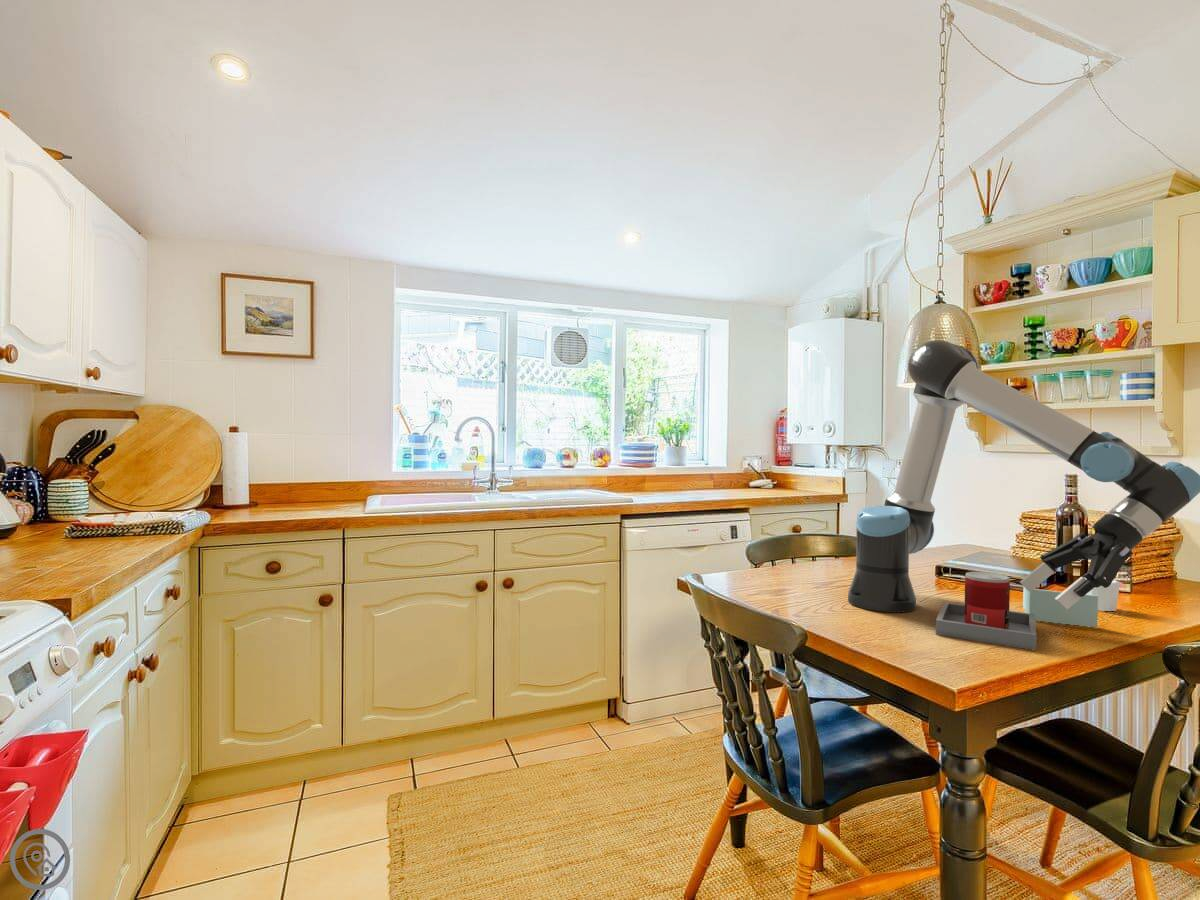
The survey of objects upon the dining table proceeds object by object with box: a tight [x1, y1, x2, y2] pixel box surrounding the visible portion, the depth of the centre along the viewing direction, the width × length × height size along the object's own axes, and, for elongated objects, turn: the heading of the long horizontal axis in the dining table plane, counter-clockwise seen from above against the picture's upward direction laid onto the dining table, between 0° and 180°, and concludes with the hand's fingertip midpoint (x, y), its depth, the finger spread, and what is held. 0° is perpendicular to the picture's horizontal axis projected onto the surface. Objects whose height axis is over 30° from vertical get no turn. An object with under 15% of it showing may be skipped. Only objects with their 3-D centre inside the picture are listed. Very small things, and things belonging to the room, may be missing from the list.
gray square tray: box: [935, 601, 1037, 651], centre depth 131 cm, size 17×17×3 cm
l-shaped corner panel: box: [1022, 585, 1099, 628], centre depth 141 cm, size 12×12×8 cm
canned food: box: [964, 571, 1011, 629], centre depth 131 cm, size 8×8×11 cm
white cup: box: [1084, 577, 1121, 612], centre depth 148 cm, size 7×7×7 cm
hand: (1041, 595), depth 129 cm, fingers open, 13 cm apart
